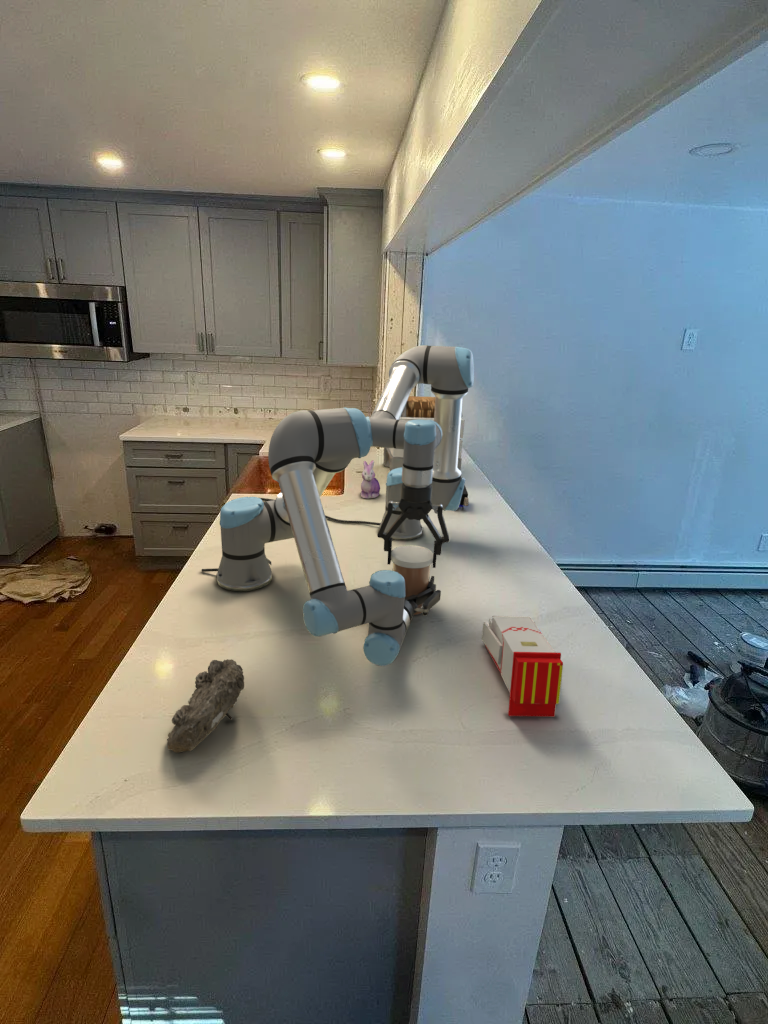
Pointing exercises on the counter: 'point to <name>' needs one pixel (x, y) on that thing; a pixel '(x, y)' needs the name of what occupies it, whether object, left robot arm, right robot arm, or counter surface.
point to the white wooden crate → (417, 411)
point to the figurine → (369, 482)
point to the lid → (412, 556)
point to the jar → (414, 579)
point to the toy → (525, 665)
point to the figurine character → (464, 498)
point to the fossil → (206, 705)
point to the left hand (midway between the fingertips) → (413, 577)
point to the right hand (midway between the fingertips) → (411, 564)
